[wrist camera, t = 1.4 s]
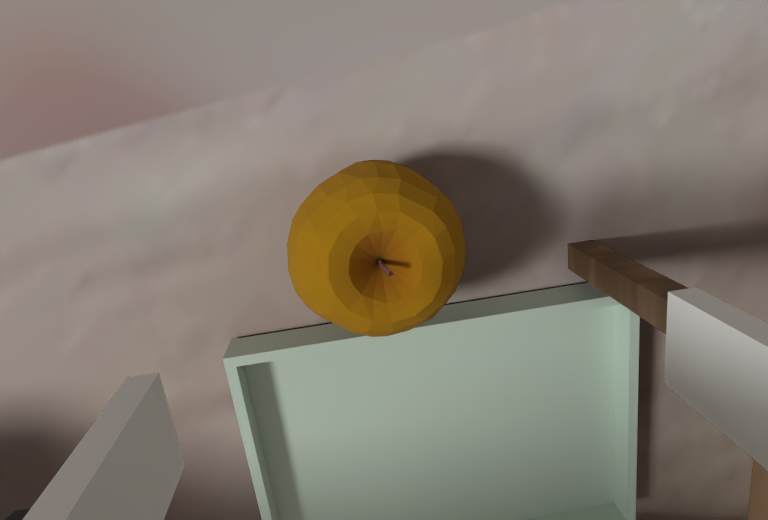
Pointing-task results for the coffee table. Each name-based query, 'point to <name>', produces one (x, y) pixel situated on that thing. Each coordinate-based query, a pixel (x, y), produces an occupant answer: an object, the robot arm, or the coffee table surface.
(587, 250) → the riser
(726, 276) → the coffee table surface
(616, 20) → the coffee table surface
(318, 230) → the apple
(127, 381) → the robot arm
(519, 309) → the tray
